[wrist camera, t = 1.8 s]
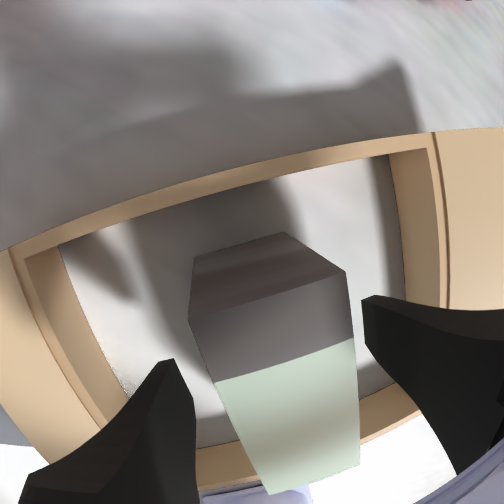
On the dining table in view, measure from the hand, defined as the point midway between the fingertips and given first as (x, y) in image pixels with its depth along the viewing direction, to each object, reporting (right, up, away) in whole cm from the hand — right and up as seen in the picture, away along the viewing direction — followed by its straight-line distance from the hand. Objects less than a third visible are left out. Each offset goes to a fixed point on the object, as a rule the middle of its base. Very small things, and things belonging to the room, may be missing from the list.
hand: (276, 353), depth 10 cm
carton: (0, 0, +4) cm, 4 cm away
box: (0, 0, +4) cm, 4 cm away
